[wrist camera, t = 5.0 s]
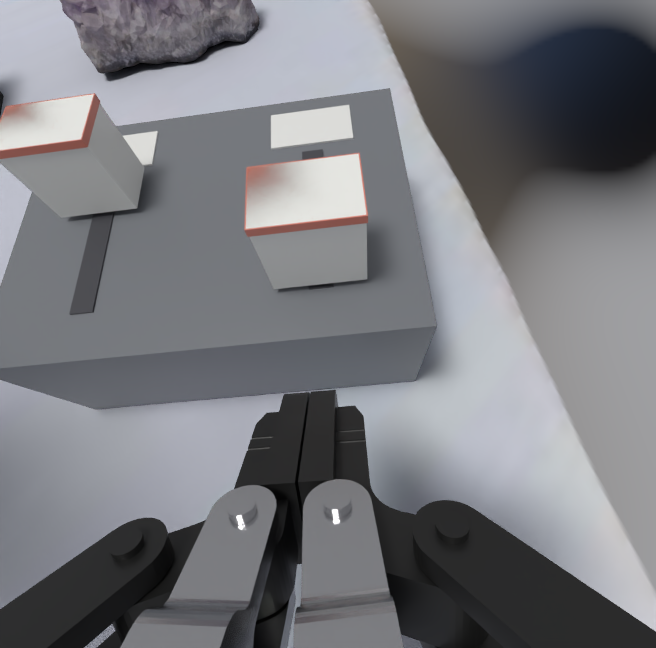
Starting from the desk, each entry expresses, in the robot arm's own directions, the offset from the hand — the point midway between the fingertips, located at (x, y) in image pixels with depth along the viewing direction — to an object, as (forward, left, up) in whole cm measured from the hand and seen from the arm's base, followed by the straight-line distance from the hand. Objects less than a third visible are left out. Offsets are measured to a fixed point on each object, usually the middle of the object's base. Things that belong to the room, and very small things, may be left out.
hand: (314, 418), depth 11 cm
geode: (-42, +26, -14) cm, 51 cm away
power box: (-13, +6, -14) cm, 19 cm away
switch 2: (-5, +7, -5) cm, 10 cm away
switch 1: (-18, +3, -5) cm, 19 cm away
